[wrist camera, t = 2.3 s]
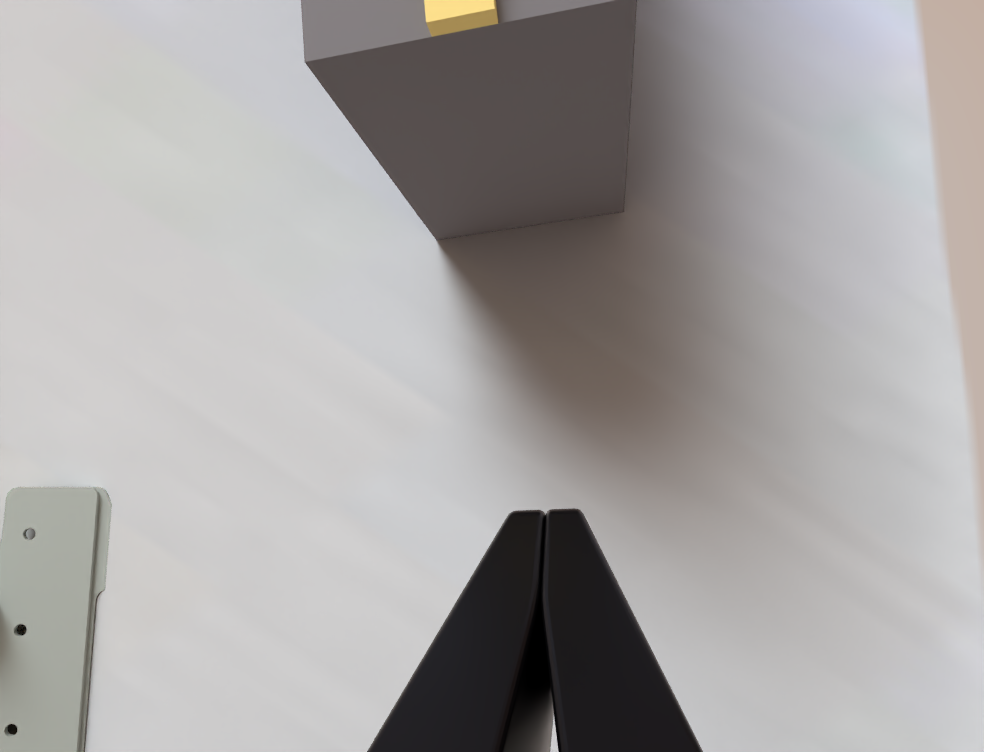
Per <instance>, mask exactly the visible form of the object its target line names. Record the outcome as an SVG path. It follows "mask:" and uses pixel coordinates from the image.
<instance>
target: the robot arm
mask: <svg viewBox="0 0 984 752" xmlns="http://www.w3.org/2000/svg"><path fill="white" fill-rule="evenodd" d="M553 715H554V717H555V725H556V734H557V742H558V750H559V752H703V751H702V749H701V747H700V745H699V743H698V741H697V739H696V737H695V735H694V733H693V731H692V729H691V727H690V725H689V723H688V721H687V719H686V717H685V715H684V713H683V711H682V709H681V707H680V705H679V703H678V701H677V699H676V697H675V695H674V693H673V691H672V689H671V687H670V685H669V683H668V681H667V679H666V677H665V675H664V674H663V672H662V670H661V668H660V666H659V664H658V662H657V660H656V658H655V656H654V654H653V652H652V650H651V648H650V646H649V644H648V642H647V640H646V638H645V636H644V634H643V632H642V630H641V628H640V626H639V624H638V622H637V620H636V618H635V616H634V614H633V612H632V610H631V608H630V606H629V604H628V602H627V600H626V598H625V596H624V594H623V592H622V590H621V588H620V586H619V584H618V582H617V580H616V578H615V576H614V574H613V572H612V570H611V568H610V566H609V564H608V562H607V560H606V558H605V556H604V554H603V552H602V550H601V548H600V546H599V544H598V542H597V540H596V538H595V536H594V534H593V532H592V530H591V528H590V526H589V524H588V522H587V520H586V518H585V516H584V514H583V513H582V512H581V511H580V510H579V509H552V510H549V511H548V512H547V513H546V515H545V513H544V512H543V511H541V510H523V511H513V512H511V513H510V514H509V515H508V516H507V518H506V519H505V521H504V523H503V524H502V526H501V528H500V530H499V531H498V533H497V535H496V536H495V538H494V540H493V541H492V543H491V545H490V546H489V548H488V550H487V551H486V553H485V555H484V556H483V558H482V560H481V561H480V563H479V565H478V566H477V568H476V570H475V571H474V573H473V575H472V577H471V578H470V580H469V582H468V583H467V585H466V587H465V588H464V590H463V592H462V593H461V595H460V597H459V598H458V600H457V602H456V603H455V605H454V607H453V608H452V610H451V612H450V613H449V615H448V617H447V619H446V620H445V622H444V624H443V625H442V627H441V629H440V630H439V632H438V634H437V635H436V637H435V639H434V640H433V642H432V644H431V645H430V647H429V649H428V650H427V652H426V654H425V655H424V657H423V659H422V660H421V662H420V664H419V666H418V667H417V669H416V671H415V672H414V674H413V676H412V677H411V679H410V681H409V682H408V684H407V686H406V687H405V689H404V691H403V692H402V694H401V696H400V697H399V699H398V701H397V702H396V704H395V706H394V707H393V709H392V711H391V713H390V714H389V716H388V718H387V719H386V721H385V723H384V724H383V726H382V728H381V729H380V731H379V733H378V734H377V736H376V738H375V739H374V741H373V743H372V744H371V746H370V748H369V749H368V751H367V752H550V747H551V736H552V726H553Z"/></svg>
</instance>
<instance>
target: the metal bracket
mask: <svg viewBox="0 0 984 752" xmlns="http://www.w3.org/2000/svg"><path fill="white" fill-rule="evenodd" d="M111 508H112V504H111V502H110V499H109V496H108V494H107V492H106V490H105V489H103V488H101V487H17V488H13V489H12V490H11V491H9V492H8V494H7V497H6V503H5V513H4V523H3V533H2V539H1V542H0V752H84V745H85V733H86V720H87V707H88V695H89V682H90V670H91V657H92V645H93V632H94V620H95V607H96V599H97V596H98V594H99V593H100V592H101V591H103V590H105V582H106V570H107V557H108V545H109V532H110V520H111ZM29 528H32V529H34V530H35V533H36V534H35V537H34V538H33V539H32V540H31V539H28V538H27V537H26V532H27V530H28V529H29ZM20 624H23V625H25V626H26V629H27V631H26V634H24V635H19V634H18V633H17V627H18V626H19V625H20ZM9 724H15V725H16V726H17V733H16V734H14V735H12V734H10V733H9V732H8V729H7V728H8V726H9Z"/></svg>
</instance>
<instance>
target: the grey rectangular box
mask: <svg viewBox="0 0 984 752" xmlns="http://www.w3.org/2000/svg"><path fill="white" fill-rule="evenodd" d="M636 6H637V0H301V8H302V24H303V41H304V58H305V63H306V64H307V66H308V67H309V68H310V70H311V71H312V72H313V74H314V75H315V77H316V78H317V79H318V81H319V82H320V83H321V85H322V86H323V87H324V89H325V90H326V91H327V93H328V94H329V95H330V97H331V98H332V100H333V101H334V102H335V104H336V105H337V106H338V108H339V109H340V110H341V112H342V113H343V114H344V116H345V117H346V118H347V120H348V121H349V123H350V124H351V125H352V127H353V128H354V129H355V131H356V132H357V133H358V135H359V136H360V137H361V139H362V140H363V141H364V143H365V144H366V146H367V147H368V148H369V150H370V151H371V152H372V154H373V155H374V156H375V158H376V159H377V160H378V162H379V163H380V164H381V166H382V167H383V169H384V170H385V171H386V173H387V174H388V175H389V177H390V178H391V179H392V181H393V182H394V183H395V185H396V186H397V187H398V189H399V190H400V192H401V193H402V194H403V196H404V197H405V198H406V200H407V201H408V202H409V204H410V205H411V206H412V208H413V209H414V210H415V212H416V213H417V215H418V216H419V217H420V219H421V220H422V221H423V223H424V224H425V225H426V227H427V228H428V229H429V231H430V232H431V233H432V235H433V236H434V237H435V239H436V240H441V239H447V238H454V237H461V236H467V235H474V234H480V233H487V232H493V231H500V230H506V229H513V228H519V227H526V226H532V225H539V224H545V223H552V222H558V221H565V220H572V219H578V218H585V217H591V216H598V215H604V214H611V213H617V212H624V198H625V182H626V166H627V150H628V134H629V118H630V102H631V86H632V70H633V54H634V38H635V22H636Z"/></svg>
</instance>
